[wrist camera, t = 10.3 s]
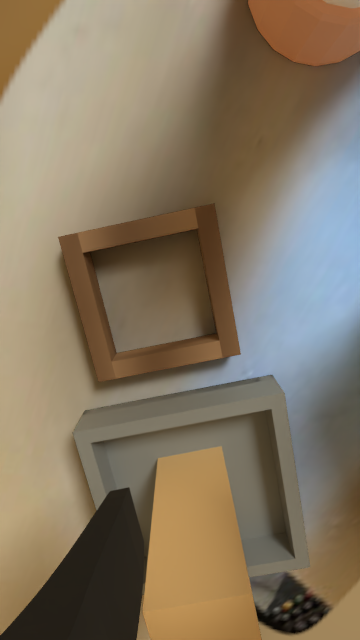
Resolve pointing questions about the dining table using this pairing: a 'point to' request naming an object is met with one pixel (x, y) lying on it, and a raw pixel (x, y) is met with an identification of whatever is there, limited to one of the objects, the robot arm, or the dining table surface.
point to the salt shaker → (309, 28)
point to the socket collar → (94, 311)
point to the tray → (198, 434)
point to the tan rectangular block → (196, 555)
